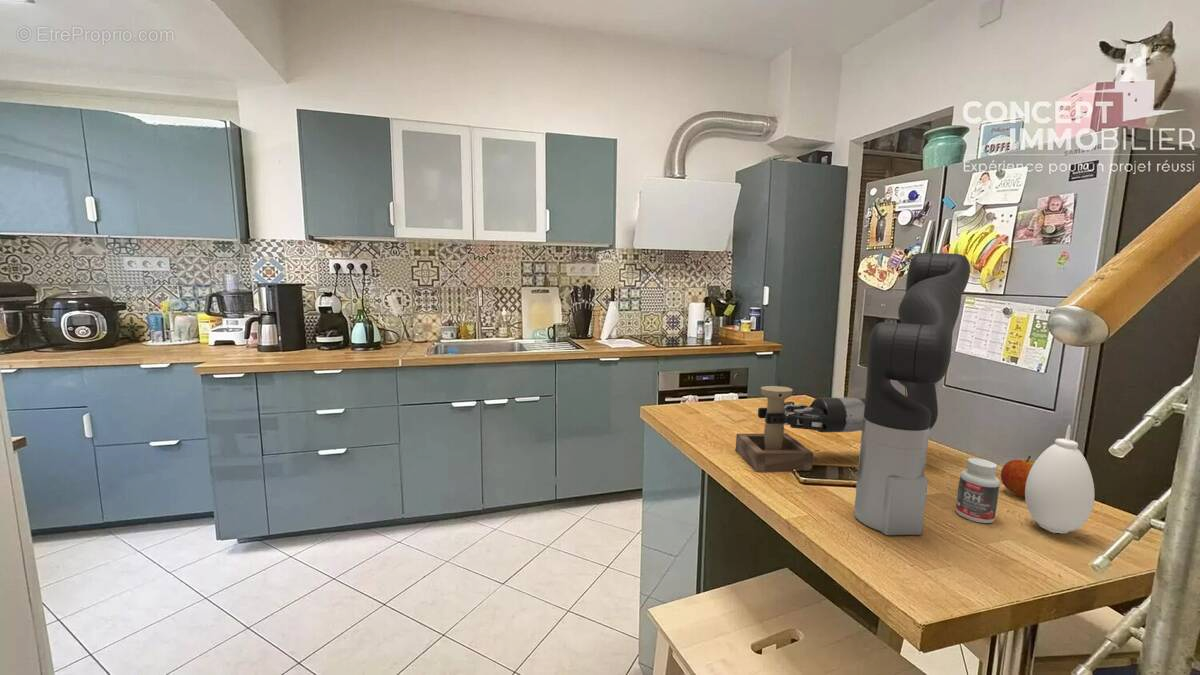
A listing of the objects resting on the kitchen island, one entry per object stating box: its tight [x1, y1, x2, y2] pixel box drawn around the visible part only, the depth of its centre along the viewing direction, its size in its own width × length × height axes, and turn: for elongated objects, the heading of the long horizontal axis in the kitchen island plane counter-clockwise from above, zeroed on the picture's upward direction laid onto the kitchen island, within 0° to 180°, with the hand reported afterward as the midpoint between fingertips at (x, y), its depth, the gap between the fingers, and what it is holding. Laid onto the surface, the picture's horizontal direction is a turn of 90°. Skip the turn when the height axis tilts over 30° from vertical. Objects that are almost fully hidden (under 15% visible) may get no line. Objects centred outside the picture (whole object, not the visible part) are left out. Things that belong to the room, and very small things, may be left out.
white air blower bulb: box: [1024, 424, 1095, 534], centre depth 76 cm, size 8×8×18 cm
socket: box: [735, 432, 814, 473], centre depth 104 cm, size 12×12×4 cm
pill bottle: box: [955, 457, 1001, 524], centre depth 81 cm, size 5×5×10 cm
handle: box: [760, 385, 793, 450], centre depth 104 cm, size 5×6×15 cm
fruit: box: [1000, 455, 1035, 499], centre depth 89 cm, size 7×7×8 cm
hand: (762, 415), depth 103 cm, fingers closed on handle, 3 cm apart
